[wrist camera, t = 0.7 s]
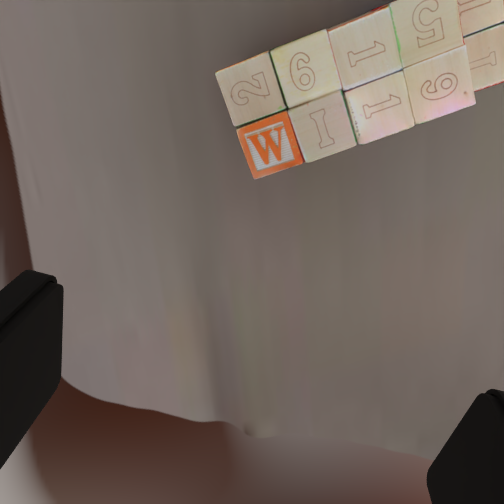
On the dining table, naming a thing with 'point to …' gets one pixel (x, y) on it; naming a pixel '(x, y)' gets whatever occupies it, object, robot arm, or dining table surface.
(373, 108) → the stack of blocks
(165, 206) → the dining table surface
